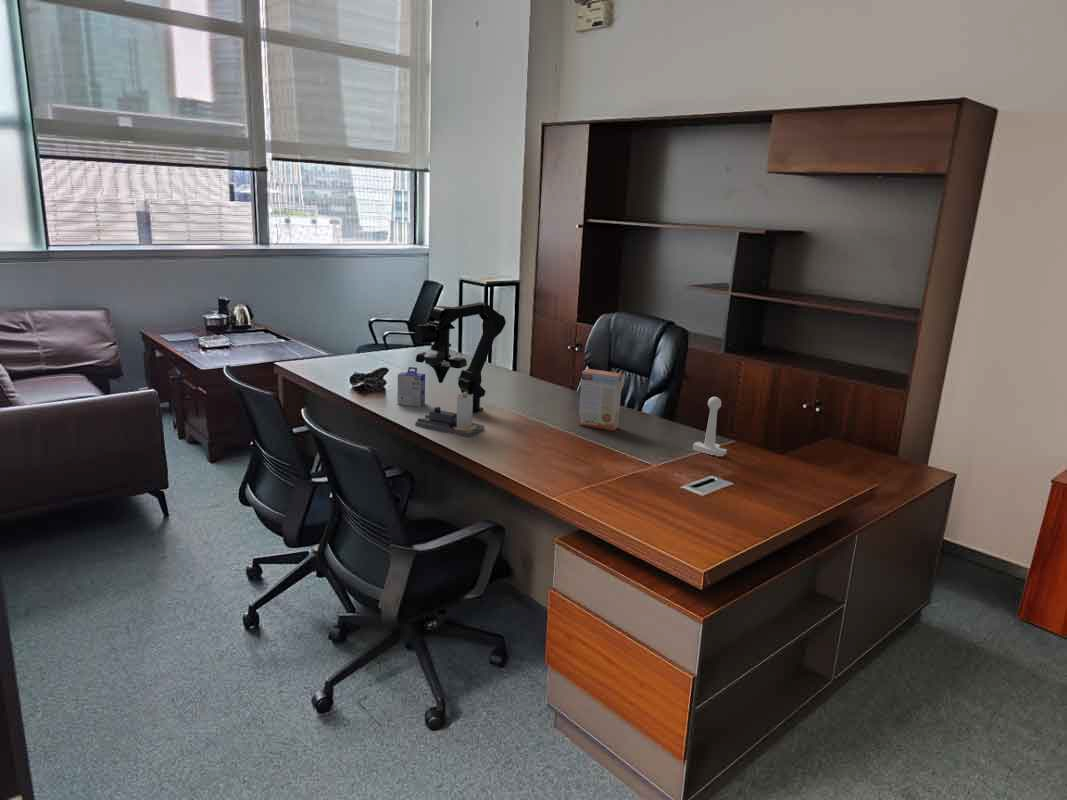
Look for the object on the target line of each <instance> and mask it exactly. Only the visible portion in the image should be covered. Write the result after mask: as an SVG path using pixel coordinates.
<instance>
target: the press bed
mask: <svg viewBox="0 0 1067 800" xmlns="http://www.w3.org/2000/svg"><path fill="white" fill-rule="evenodd" d="M414 425H415V427H419V426H420V428H424V427H425V429H429V428H430V430H434V429H435V430H436V431H440V432H446V433H449V432H450V434H454V433H456V435H459V434H460V435H459V436H464V435H465V436H464V437H469V436H470V438H471V437H473V436H474V434H475V435H477V434H478V433H480V432H482V431H483V429H484V430H485V425H484V424H479V423H474V422H472V427H471V429H467V428H457V423H456V424H454V425H450V424H448V423H442V422H437V421H432V420H429V414H425V417H422V418H421V417H419V418H417V420H416V421H415V423H414ZM481 430H482V431H481Z"/></svg>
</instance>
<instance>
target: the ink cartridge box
mask: <svg viewBox="0 0 1067 800" xmlns="http://www.w3.org/2000/svg"><path fill="white" fill-rule="evenodd" d="M425 402H426V373H419V372H418V367H412V366H409V367H408V369H407V371H406V372H405V371H403V372H402V371H401V372H399V374H397V405H405V406H413V407H422V406H423V405H425V404H426V403H425Z"/></svg>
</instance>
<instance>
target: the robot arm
mask: <svg viewBox="0 0 1067 800" xmlns="http://www.w3.org/2000/svg"><path fill="white" fill-rule="evenodd" d="M477 315H478V316H479V318H480V319H482V323H481V326H482V327H481V329H482V335H481V338H480V340H479V342H478V343H477V347H476V349H475V351H474V354H473V357H472V359H471V362H470V364H469V367H467V366H468V361H467V359H466V358H464V357H458V356H457V357H454V358H452V354H450V348H451V347H452V343H450V333H451V331H450V330H455V326H454V325H453V324H452V323H453V322H456V320H458V319H461V318H465V317H472V316H477ZM506 323H507V321H506V318H505V316H504V315H503V314H500V313H499V312H498V311H496V310H495V309H493V308H492V307H491V306H490V305H489V304H488V303H486V302H482V301H477V302H474V303H470V304H463V305H457V306H446V305H445V306H441V305H438V306H437V305H436V306H434V307H433V308H432V310H431V313H430V315H429V317H428V319H427V320H426V321H425V323H424V324H417V325H416V326H417V327H416V329H414V332H413V340H414V341H415V343H416V344H417V345H422V344H431V346H430V350H428V351H427V352H426V351H424V352H420V353H417V354H416V356H415V362H416V363H422V364H423V363H425V364H426V365H429V367H432V369H433V371H434V372H435V375H436V378H437V380H438V381H437V382H438V383H439V384H443V382H444V379H445V378H446V376H447V373H448V372H449V371H450V368H452V369H462V368H464V367H467V369H465V370H464V369H462V370H461V371H460V374H459V376H458V378H457V380H458V382H457V385H458V389H460V392H461V393H460V394H463V392H468V395H473V413H474V414H476V413H479V412H481V411H483V410H484V407H481V399H482V397H485V395H486V390H485V389H484V388H483V387H482V371H483V368H484V366H485V363H486V361H487V358H488V356H489V354H490V351H491V349H492V346H493V343H494V341H495V339H496V338H497V337H498V336H499V335H500V334H501V333H502V331H503V330H504V328H505V327H506Z"/></svg>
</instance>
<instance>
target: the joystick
mask: <svg viewBox="0 0 1067 800" xmlns="http://www.w3.org/2000/svg"><path fill="white" fill-rule="evenodd" d="M707 406H708V408H709V415H708V421H707V426H706V432H705V435H704V437H705V438H704V443H702V442H701V441H696V442H694V443H693V445H692V451H694V450H695V452H696V451H699V452H702V453H706V454H710V455H716V456H724V457H725V456H726V455H727V451H728V450H727V448H721V445H720V444H718V443H716V435H717V420H718V419H717V418H718V411H719V409H720V408H721V407H722V400H721V398H719V397H717V396H712V397H710V398H708V401H707ZM699 452H698V453H699ZM725 454H726V455H725Z"/></svg>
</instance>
